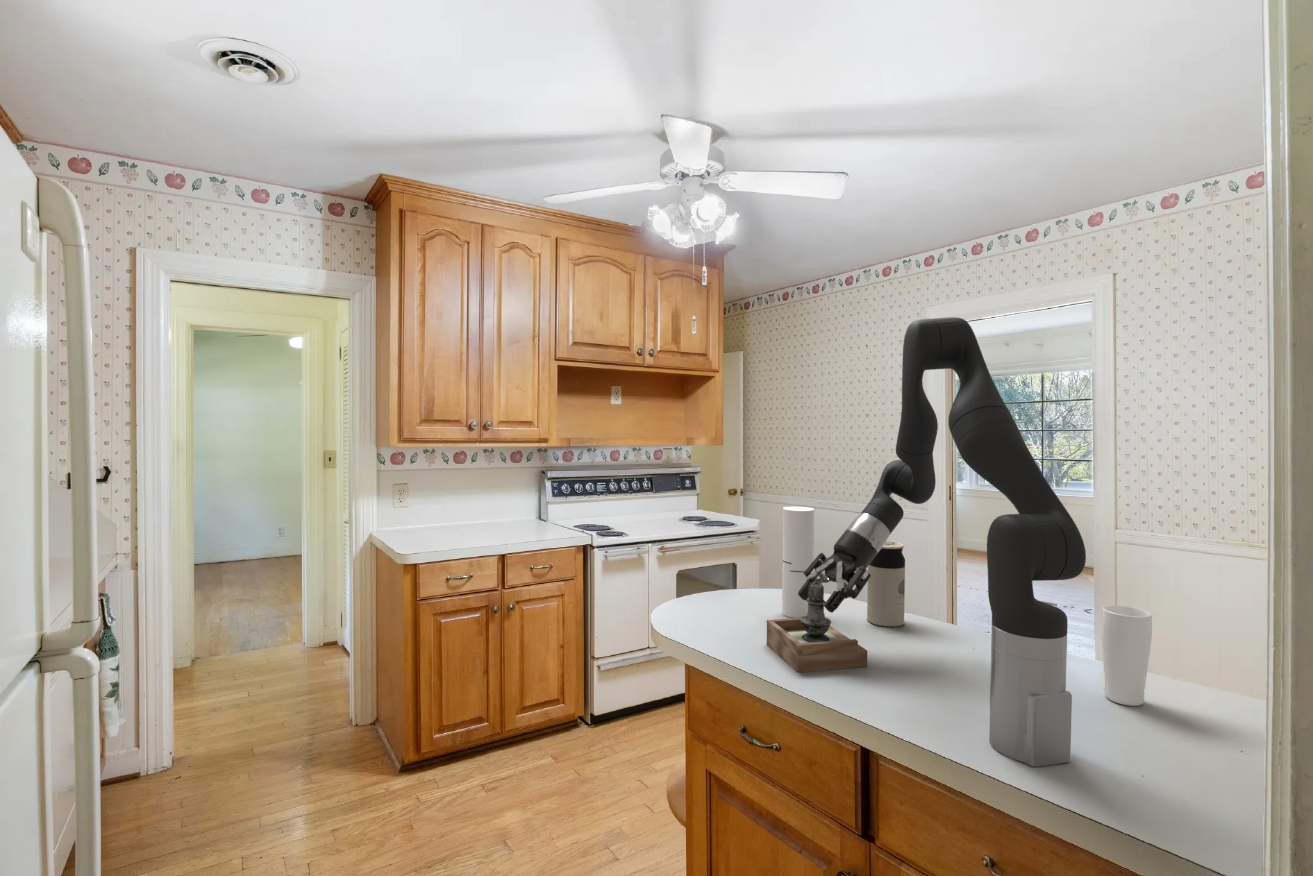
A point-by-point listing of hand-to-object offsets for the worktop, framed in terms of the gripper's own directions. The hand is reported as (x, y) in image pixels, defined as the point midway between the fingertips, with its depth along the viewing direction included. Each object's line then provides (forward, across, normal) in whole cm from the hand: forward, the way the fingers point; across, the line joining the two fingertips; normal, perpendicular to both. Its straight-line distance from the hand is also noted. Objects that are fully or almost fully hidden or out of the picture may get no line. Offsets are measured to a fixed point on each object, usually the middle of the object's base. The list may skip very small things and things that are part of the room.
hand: (814, 603), depth 127 cm
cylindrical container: (-2, -24, +16) cm, 29 cm away
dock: (+7, 0, +7) cm, 10 cm away
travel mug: (-12, -11, +27) cm, 31 cm away
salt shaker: (+5, 0, +5) cm, 7 cm away
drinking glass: (-18, +36, +32) cm, 52 cm away
